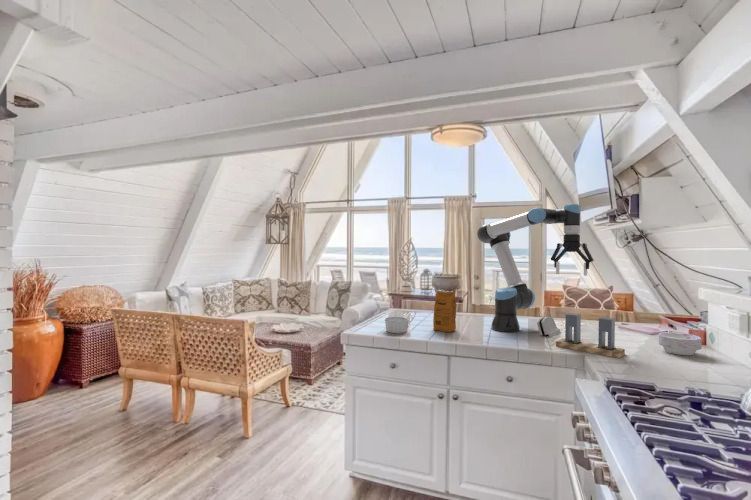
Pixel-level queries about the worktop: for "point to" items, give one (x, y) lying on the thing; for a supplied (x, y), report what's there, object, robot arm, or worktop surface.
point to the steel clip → (604, 327)
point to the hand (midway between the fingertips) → (571, 274)
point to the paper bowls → (680, 343)
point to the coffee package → (445, 312)
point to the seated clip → (575, 322)
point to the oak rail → (591, 348)
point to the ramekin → (396, 324)
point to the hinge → (547, 326)
